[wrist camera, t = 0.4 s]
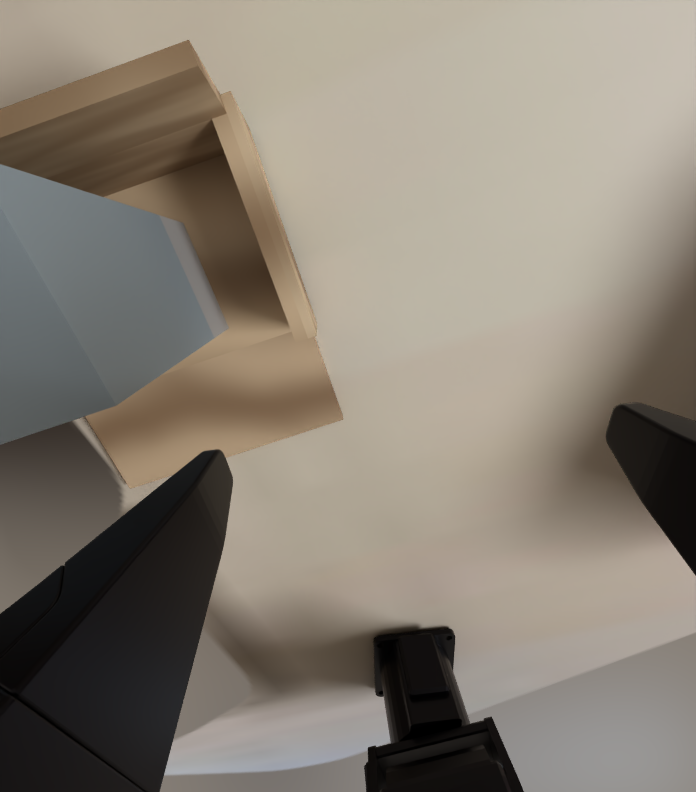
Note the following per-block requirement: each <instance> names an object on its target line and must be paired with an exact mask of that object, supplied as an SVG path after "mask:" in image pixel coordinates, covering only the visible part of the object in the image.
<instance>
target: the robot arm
mask: <svg viewBox="0 0 696 792" xmlns="http://www.w3.org/2000/svg"><path fill="white" fill-rule="evenodd" d="M606 441H607V444H608V446H609V447H610V449H611V451H612V453H613V454H614V456H615V458H616V459H617V461H618V463H619V464H620V466H621V468H622V470H623V471H624V473H625V475H626V476H627V478H628V480H629V481H630V483H631V485H632V487H633V488H634V490H635V492H636V493H637V495H638V497H639V498H640V500H641V501H642V503H643V504H644V506H645V507H646V509H647V510H648V511H649V513H650V514H651V516H652V517H653V518H654V520H655V521H656V522H657V524H658V525H659V526H660V528H661V529H662V530H663V532H664V533H665V535H666V536H667V537H668V539H669V540H670V541H671V543H672V544H673V545H674V547H675V548H676V549H677V551H678V552H679V554H680V555H681V556H682V558H683V559H684V560H685V562H686V563H687V564H688V566H689V567H690V569H691V570H692V571H693V573H694V574H695V575H696V421H693V420H690V419H687V418H684V417H681V416H678V415H675V414H672V413H669V412H666V411H663V410H660V409H657V408H654V407H651V406H648V405H644V404H641V403H636V402H634V403H625V404H619V405H617V406H616V407H615V408H614V409H613V412H612V415H611V418H610V422H609V425H608V428H607V432H606ZM232 487H233V477H232V474H231V471H230V468H229V466H228V463H227V461H226V458H225V455H224V453H223V452H222V451H221V450H219V449H215V450H206V451H203V452H201V453H200V454H199V455H197V456H196V457H195V458H194V459H192V460H191V461H190V462H189V463H188V464H186V465H185V466H184V467H183V468H181V469H180V470H179V471H178V472H176V473H175V474H174V475H173V476H171V477H170V478H169V479H168V480H167V481H165V482H164V483H163V484H162V485H160V486H159V487H158V488H157V489H155V490H154V491H153V492H152V493H150V494H149V495H148V496H147V497H146V498H144V499H143V500H142V501H141V502H139V503H138V504H137V505H136V506H134V507H133V508H132V509H131V510H129V511H128V512H127V513H126V514H125V515H123V516H122V517H121V518H120V519H118V520H117V521H116V522H115V523H114V524H112V525H111V526H110V527H108V528H107V529H106V530H105V531H103V532H102V533H101V534H100V535H99V536H97V537H96V538H95V539H94V540H92V541H91V542H90V543H89V544H88V545H86V546H85V547H84V548H82V549H81V550H80V551H79V552H78V553H76V554H75V555H74V556H73V557H71V558H70V559H69V560H68V561H67V562H65V566H60V567H59V568H58V569H56V570H55V571H54V572H53V573H52V574H51V575H49V576H48V577H47V578H46V579H44V580H43V581H42V582H40V583H39V584H38V585H37V586H35V587H34V588H33V589H32V590H30V591H29V592H28V593H27V594H25V595H24V596H23V597H21V598H20V599H19V600H18V601H16V602H15V603H14V604H12V605H11V606H10V607H9V608H7V609H6V610H5V611H3V612H2V613H1V614H0V792H160V788H161V784H162V780H163V776H164V773H165V769H166V765H167V761H168V757H169V753H170V750H171V746H172V742H173V738H174V734H175V730H176V727H177V722H178V719H179V715H180V711H181V708H182V704H183V699H184V696H185V692H186V689H187V685H188V681H189V677H190V673H191V669H192V666H193V661H194V658H195V654H196V650H197V646H198V643H199V639H200V635H201V631H202V627H203V624H204V620H205V616H206V612H207V608H208V604H209V601H210V597H211V593H212V589H213V585H214V582H215V578H216V574H217V570H218V566H219V562H220V559H221V555H222V551H223V546H224V541H225V535H226V529H227V522H228V515H229V508H230V501H231V494H232ZM373 645H374V674H375V692H376V695H377V696H379V697H383V696H384V701H385V708H386V714H387V721H388V727H389V734H390V741H391V744H387V745H383V746H379V747H376V746H372V747H368V762H367V763H366V765H365V766H364V769H365V780H366V792H524V791H523V789H522V786H521V784H520V781H519V779H518V777H517V774H516V772H515V770H514V767H513V765H512V763H511V760H510V758H509V756H508V754H507V751H506V749H505V747H504V744H503V742H502V740H501V738H500V735H499V733H498V730H497V728H496V726H495V724H494V721H493V719H492V717H488V718H484V720H483V721H479V722H475V723H471V724H470V721H469V719H468V715H467V712H466V709H465V706H464V703H463V700H462V697H461V694H460V691H459V688H458V685H457V682H456V679H455V676H454V673H453V663H454V649H455V635H454V632H453V630H452V629H441V630H432V631H422V632H413V633H403V634H394V635H384V636H378V637H376V638H375V639H374V641H373Z"/></svg>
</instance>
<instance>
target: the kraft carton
mask: <svg viewBox="0 0 696 792" xmlns="http://www.w3.org/2000/svg"><path fill="white" fill-rule="evenodd" d="M0 164H2V165H5V166H8V167H11V168H14V169H17V170H20V171H23V172H26V173H30V174H33V175H36V176H39V177H42V178H45V179H48V180H51V181H54V182H58V183H61V184H64V185H67V186H70V187H73V188H76V189H79V190H82V191H85V192H89V193H92V194H95V195H98V196H101V197H104V198H107V199H110V200H113V201H117V202H120V203H123V204H126V205H129V206H132V207H135V208H138V209H141V210H145V211H148V212H151V213H154V214H157V215H160V216H163V217H166V218H169V219H173V220H176V221H179V222H182V223H184V225H185V228H186V230H187V232H188V235H189V237H190V239H191V241H192V244H193V246H194V248H195V251H196V253H197V255H198V258H199V260H200V262H201V265H202V267H203V269H204V272H205V274H206V276H207V278H208V281H209V283H210V285H211V288H212V290H213V292H214V295H215V297H216V299H217V302H218V304H219V306H220V309H221V311H222V313H223V315H224V318H225V320H226V322H227V325H228V327H229V329H227V330H226V331H224V332H223V333H221V334H220V335H218V336H217V337H216V338H214V339H213V340H211V341H210V342H208V343H207V344H205V345H204V346H202V347H201V348H200V349H198V350H197V351H195V352H194V353H192V354H191V355H189V356H188V357H186V358H185V359H184V360H182V361H181V362H179V363H178V364H176V365H175V366H173V367H172V368H170V369H169V370H168V371H166V372H165V373H163V374H162V375H160V376H159V377H157V378H156V379H154V380H153V381H152V382H150V383H149V384H147V385H146V386H144V387H143V388H141V389H140V390H138V391H137V392H136V393H134V394H133V395H131V396H130V397H128V398H127V399H125V400H124V401H122V402H121V403H120V404H118V405H117V406H114V407H111V408H108V409H105V410H102V411H99V412H96V413H93V414H90V415H87V416H85V417H86V419H87V420H88V422H89V424H90V425H91V427H92V428H93V430H94V432H95V433H96V435H97V436H98V438H99V440H100V441H101V443H102V444H103V446H104V448H105V449H106V451H107V453H108V454H109V456H110V457H111V459H112V461H113V462H114V464H115V465H116V467H117V469H118V470H119V472H120V473H121V475H122V477H123V478H124V480H125V481H126V483H127V485H128V486H129V488H130V489H131V488H134V487H137V486H140V485H143V484H146V483H149V482H152V481H155V480H159V479H162V478H165V477H168V476H171V475H174V474H175V473H176V472H178V471H179V470H180V469H181V468H183V467H184V466H185V465H186V464H188V463H189V462H190V461H191V460H192V459H194V458H195V457H196V456H197V455H199V454H200V453H201V452H203V451H206V450H215V449H219V450H221V451H222V452H223V453H224V455H225V458H226V457H229V456H232V455H235V454H238V453H241V452H245V451H248V450H251V449H254V448H257V447H260V446H263V445H266V444H269V443H272V442H275V441H278V440H281V439H284V438H288V437H291V436H294V435H297V434H300V433H303V432H306V431H309V430H312V429H315V428H318V427H321V426H324V425H327V424H331V423H334V422H337V421H340V420H343V415H342V412H341V410H340V407H339V404H338V401H337V398H336V395H335V393H334V390H333V387H332V384H331V381H330V378H329V376H328V373H327V370H326V367H325V364H324V361H323V359H322V356H321V353H320V350H319V347H318V345H317V342H316V339H315V336H317V322H316V319H315V316H314V313H313V310H312V308H311V305H310V302H309V299H308V296H307V293H306V290H305V287H304V284H303V282H302V279H301V276H300V273H299V270H298V267H297V264H296V261H295V259H294V256H293V253H292V250H291V247H290V244H289V241H288V238H287V235H286V233H285V230H284V227H283V224H282V221H281V218H280V215H279V212H278V210H277V207H276V204H275V201H274V198H273V195H272V192H271V189H270V186H269V184H268V181H267V178H266V175H265V172H264V169H263V166H262V163H261V161H260V158H259V155H258V152H257V149H256V146H255V143H254V140H253V137H252V135H251V132H250V129H249V127H248V125H247V123H246V121H245V119H244V117H243V115H242V113H241V111H240V109H239V107H238V105H237V103H236V101H235V99H234V97H233V95H232V93H231V91H229V92H227V93H224V94H221V95H220V93H219V92H218V90H217V88H216V86H215V85H214V83H213V81H212V80H211V78H210V76H209V74H208V73H207V71H206V69H205V67H204V66H203V64H202V62H201V60H200V59H199V57H198V55H197V53H196V52H195V50H194V48H193V46H192V45H191V43H190V41H189V40H187V41H184V42H182V43H179V44H176V45H173V46H171V47H168V48H165V49H162V50H160V51H157V52H154V53H152V54H149V55H146V56H143V57H141V58H138V59H135V60H133V61H130V62H127V63H124V64H122V65H119V66H116V67H113V68H111V69H108V70H105V71H103V72H100V73H97V74H94V75H92V76H89V77H86V78H84V79H81V80H78V81H75V82H73V83H70V84H67V85H64V86H62V87H59V88H56V89H54V90H51V91H48V92H45V93H43V94H40V95H37V96H35V97H32V98H29V99H26V100H24V101H21V102H18V103H15V104H13V105H10V106H7V107H5V108H2V109H0Z"/></svg>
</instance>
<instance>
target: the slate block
mask: <svg viewBox="0 0 696 792" xmlns="http://www.w3.org/2000/svg"><path fill="white" fill-rule="evenodd" d="M227 329H229V327H228V325H227V322H226V320H225V318H224V315H223V313H222V311H221V309H220V306H219V304H218V302H217V299H216V297H215V295H214V292H213V290H212V288H211V285H210V283H209V281H208V278H207V276H206V274H205V272H204V269H203V267H202V265H201V262H200V260H199V258H198V255H197V253H196V251H195V248H194V246H193V244H192V241H191V239H190V237H189V235H188V232H187V230H186V228H185V225H184V223H182V222H179V221H176V220H173V219H169V218H166V217H163V216H160V215H157V214H154V213H151V212H148V211H145V210H141V209H138V208H135V207H132V206H129V205H126V204H123V203H120V202H117V201H113V200H110V199H107V198H104V197H101V196H98V195H95V194H92V193H89V192H85V191H82V190H79V189H76V188H73V187H70V186H67V185H64V184H61V183H58V182H54V181H51V180H48V179H45V178H42V177H39V176H36V175H33V174H30V173H26V172H23V171H20V170H17V169H14V168H11V167H8V166H5V165H2V164H0V444H3V443H6V442H9V441H12V440H15V439H18V438H21V437H24V436H27V435H30V434H33V433H36V432H39V431H42V430H45V429H48V428H51V427H54V426H57V425H60V424H63V423H66V422H69V421H72V420H75V419H78V418H81V417H84V416H87V415H90V414H93V413H96V412H99V411H102V410H105V409H108V408H111V407H114V406H117V405H118V404H120V403H121V402H122V401H124V400H125V399H127V398H128V397H130V396H131V395H133V394H134V393H136V392H137V391H138V390H140V389H141V388H143V387H144V386H146V385H147V384H149V383H150V382H152V381H153V380H154V379H156V378H157V377H159V376H160V375H162V374H163V373H165V372H166V371H168V370H169V369H170V368H172V367H173V366H175V365H176V364H178V363H179V362H181V361H182V360H184V359H185V358H186V357H188V356H189V355H191V354H192V353H194V352H195V351H197V350H198V349H200V348H201V347H202V346H204V345H205V344H207V343H208V342H210V341H211V340H213V339H214V338H216V337H217V336H218V335H220V334H221V333H223V332H224V331H226V330H227Z"/></svg>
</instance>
